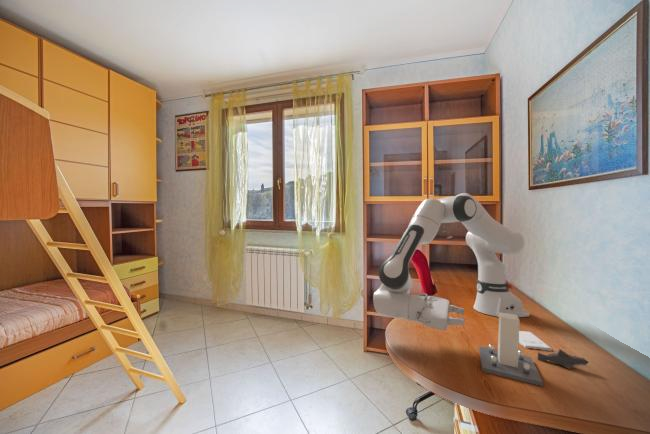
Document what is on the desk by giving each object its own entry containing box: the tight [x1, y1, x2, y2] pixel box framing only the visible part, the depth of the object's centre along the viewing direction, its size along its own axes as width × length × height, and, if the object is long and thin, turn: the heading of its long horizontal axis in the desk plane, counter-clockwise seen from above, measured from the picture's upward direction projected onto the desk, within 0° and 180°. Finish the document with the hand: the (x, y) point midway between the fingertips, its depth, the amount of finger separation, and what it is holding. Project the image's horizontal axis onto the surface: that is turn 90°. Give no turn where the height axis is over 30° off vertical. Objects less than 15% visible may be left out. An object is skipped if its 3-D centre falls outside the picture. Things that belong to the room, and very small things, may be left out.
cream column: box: [497, 312, 521, 368], centre depth 81 cm, size 4×4×14 cm
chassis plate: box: [478, 343, 544, 387], centre depth 81 cm, size 14×14×4 cm
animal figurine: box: [537, 348, 589, 371], centre depth 82 cm, size 12×4×5 cm, turn 58°
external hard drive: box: [519, 330, 553, 352], centre depth 97 cm, size 2×8×12 cm
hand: (464, 316), depth 86 cm, fingers open, 8 cm apart
